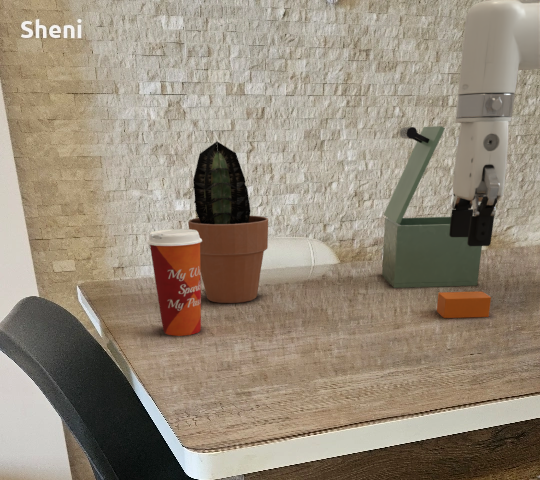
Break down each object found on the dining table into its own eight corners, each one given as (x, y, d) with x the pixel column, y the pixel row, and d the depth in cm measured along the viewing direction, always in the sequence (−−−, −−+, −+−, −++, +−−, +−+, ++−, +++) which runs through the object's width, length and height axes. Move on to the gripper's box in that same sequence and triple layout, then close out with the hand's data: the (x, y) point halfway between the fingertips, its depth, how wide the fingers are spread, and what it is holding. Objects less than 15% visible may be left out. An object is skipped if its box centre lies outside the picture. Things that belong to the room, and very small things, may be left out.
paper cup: (180, 340, 95) (171, 237, 88) (145, 332, 99) (135, 233, 93) (219, 329, 100) (213, 230, 93) (184, 321, 104) (176, 227, 98)
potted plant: (284, 300, 116) (282, 139, 105) (213, 310, 111) (203, 142, 99) (248, 287, 127) (243, 140, 115) (181, 295, 121) (169, 142, 110)
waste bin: (458, 273, 135) (464, 216, 130) (477, 285, 123) (484, 223, 118) (381, 275, 134) (384, 218, 129) (393, 287, 123) (397, 226, 118)
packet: (479, 310, 107) (482, 291, 105) (488, 317, 103) (491, 297, 101) (436, 311, 107) (438, 292, 105) (443, 318, 103) (445, 298, 101)
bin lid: (427, 128, 122) (403, 116, 121) (445, 128, 111) (418, 114, 110) (386, 216, 129) (363, 205, 128) (399, 224, 118) (374, 212, 117)
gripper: (534, 107, 84) (513, 249, 92) (491, 112, 99) (476, 233, 107) (476, 108, 84) (459, 250, 92) (441, 113, 99) (430, 234, 107)
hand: (468, 241), depth 99 cm, fingers open, 9 cm apart
